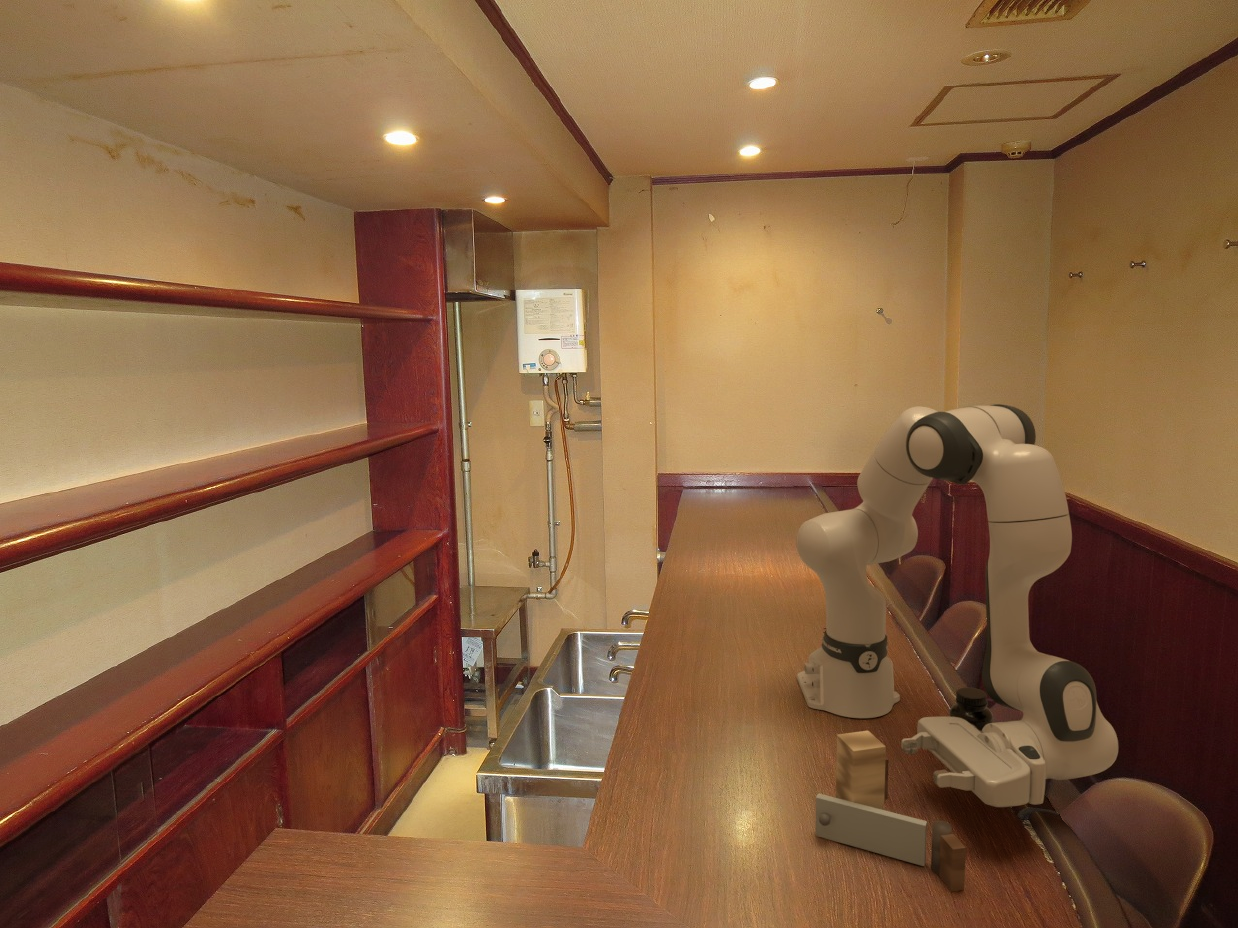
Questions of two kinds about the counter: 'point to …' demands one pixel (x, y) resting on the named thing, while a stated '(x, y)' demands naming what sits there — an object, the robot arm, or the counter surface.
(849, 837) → the gate
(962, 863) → the gate frame
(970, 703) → the supplement bottle
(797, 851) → the counter surface
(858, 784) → the beech block
